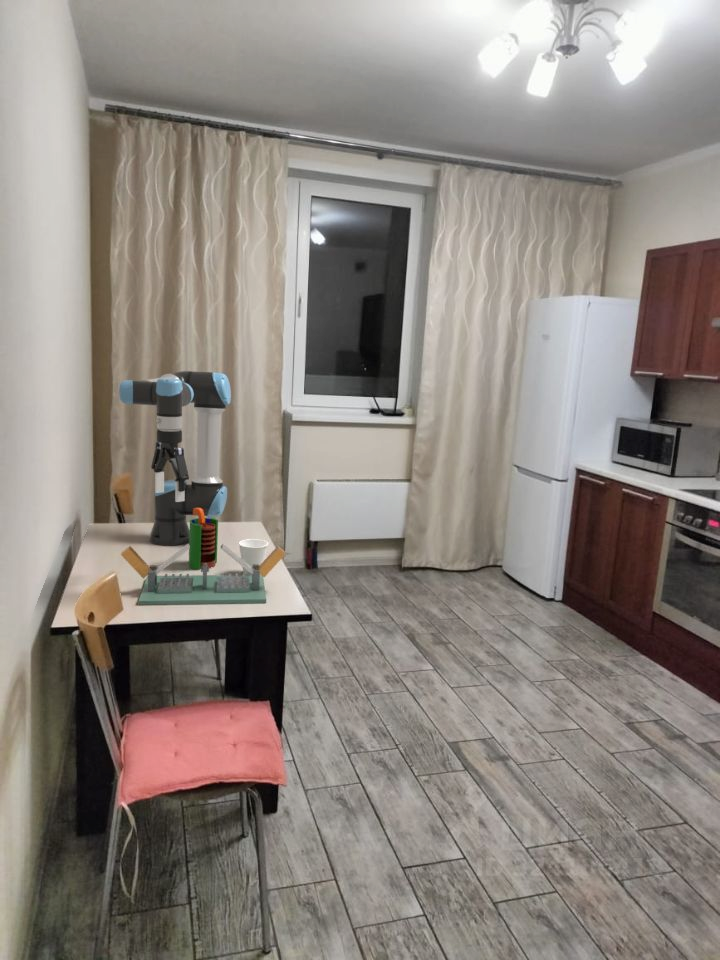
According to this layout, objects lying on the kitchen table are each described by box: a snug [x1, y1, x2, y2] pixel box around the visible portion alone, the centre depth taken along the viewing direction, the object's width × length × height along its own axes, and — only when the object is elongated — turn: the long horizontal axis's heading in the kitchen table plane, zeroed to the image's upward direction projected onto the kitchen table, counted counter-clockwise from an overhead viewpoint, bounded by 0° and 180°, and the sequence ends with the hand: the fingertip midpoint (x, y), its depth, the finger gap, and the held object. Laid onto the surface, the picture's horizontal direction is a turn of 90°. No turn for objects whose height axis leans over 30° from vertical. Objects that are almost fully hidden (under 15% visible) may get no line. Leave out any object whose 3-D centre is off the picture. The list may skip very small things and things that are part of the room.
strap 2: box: [220, 543, 286, 578], centre depth 217 cm, size 16×3×12 cm
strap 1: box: [120, 543, 190, 579], centre depth 211 cm, size 16×3×12 cm
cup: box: [238, 538, 269, 575], centre depth 233 cm, size 10×10×11 cm
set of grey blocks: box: [147, 563, 260, 594], centre depth 216 cm, size 10×33×7 cm, turn 101°
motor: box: [188, 508, 219, 571], centre depth 239 cm, size 10×9×20 cm
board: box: [138, 574, 267, 606], centre depth 217 cm, size 22×37×1 cm, turn 101°
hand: (169, 496), depth 217 cm, fingers open, 13 cm apart
